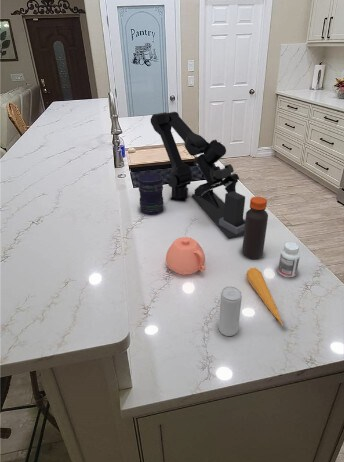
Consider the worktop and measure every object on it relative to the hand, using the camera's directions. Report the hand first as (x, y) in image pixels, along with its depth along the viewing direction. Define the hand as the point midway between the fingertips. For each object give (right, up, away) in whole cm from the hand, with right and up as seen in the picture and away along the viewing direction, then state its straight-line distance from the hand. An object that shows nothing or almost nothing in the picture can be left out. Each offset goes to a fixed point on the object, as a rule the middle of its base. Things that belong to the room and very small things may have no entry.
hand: (227, 204), depth 122 cm
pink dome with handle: (-16, -20, -19) cm, 32 cm away
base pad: (-1, -3, +12) cm, 12 cm away
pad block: (+2, -8, 0) cm, 8 cm away
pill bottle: (+15, -21, -22) cm, 34 cm away
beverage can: (-7, -32, -41) cm, 52 cm away
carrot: (+5, -27, -32) cm, 42 cm away
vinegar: (+6, -17, -13) cm, 22 cm away
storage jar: (-29, -2, +15) cm, 33 cm away
